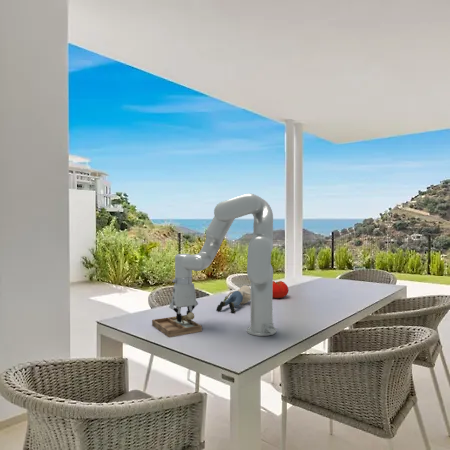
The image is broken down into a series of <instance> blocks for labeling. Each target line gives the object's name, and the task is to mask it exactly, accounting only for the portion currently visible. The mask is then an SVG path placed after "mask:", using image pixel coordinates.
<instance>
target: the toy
mask: <svg viewBox="0 0 450 450" xmlns="http://www.w3.org/2000/svg"><path fill="white" fill-rule="evenodd" d="M250 296H251V286H249V285H246V284H245V285H242V286H240V288H238V289H236V290H232V291H230V292H229V293H228V294H227V295H226V296H225V297H224V299H223V301H220V303H219V304H218V305H217V306H216V312H218V313H221V311H222V310H223V307H227V306H228V308H229V309H230V313H231V314H235V313H236V309H235V308H236V307H239V305H245V304H247V303H248V302H250Z"/></svg>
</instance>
